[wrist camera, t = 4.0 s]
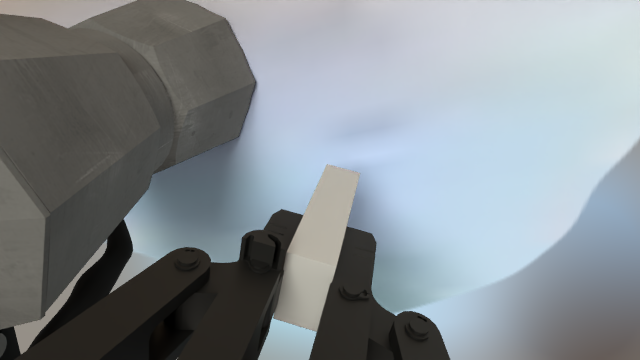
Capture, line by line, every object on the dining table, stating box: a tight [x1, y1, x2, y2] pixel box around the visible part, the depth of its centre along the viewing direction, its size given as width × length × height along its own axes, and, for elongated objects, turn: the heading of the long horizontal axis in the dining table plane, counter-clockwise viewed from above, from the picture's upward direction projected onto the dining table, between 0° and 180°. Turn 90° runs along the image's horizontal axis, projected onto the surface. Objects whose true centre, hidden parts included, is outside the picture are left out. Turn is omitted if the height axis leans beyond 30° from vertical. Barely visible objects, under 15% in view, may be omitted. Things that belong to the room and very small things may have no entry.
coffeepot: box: [0, 0, 256, 360], centre depth 16 cm, size 15×9×18 cm, turn 1°
